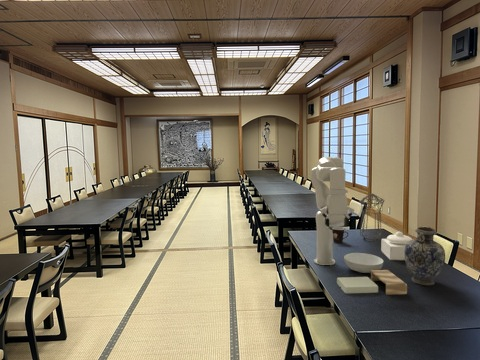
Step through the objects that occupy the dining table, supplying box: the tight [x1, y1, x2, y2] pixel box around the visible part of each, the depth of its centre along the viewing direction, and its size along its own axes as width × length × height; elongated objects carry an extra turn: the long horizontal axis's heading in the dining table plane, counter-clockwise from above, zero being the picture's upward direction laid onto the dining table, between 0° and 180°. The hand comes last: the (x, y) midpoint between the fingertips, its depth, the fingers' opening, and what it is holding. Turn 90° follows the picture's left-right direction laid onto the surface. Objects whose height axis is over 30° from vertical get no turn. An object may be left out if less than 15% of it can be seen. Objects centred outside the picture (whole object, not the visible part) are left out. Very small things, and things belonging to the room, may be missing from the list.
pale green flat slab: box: [336, 276, 379, 294], centre depth 170 cm, size 12×16×3 cm
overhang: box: [370, 269, 408, 296], centre depth 171 cm, size 17×10×5 cm, turn 3°
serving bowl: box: [343, 252, 384, 274], centre depth 193 cm, size 21×21×7 cm
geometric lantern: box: [358, 193, 385, 242], centre depth 252 cm, size 16×16×35 cm
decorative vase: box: [404, 226, 446, 287], centre depth 176 cm, size 21×19×28 cm
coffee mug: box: [331, 226, 349, 244], centre depth 247 cm, size 12×9×10 cm
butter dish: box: [380, 231, 413, 261], centre depth 217 cm, size 18×18×16 cm
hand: (336, 226), depth 173 cm, fingers open, 9 cm apart
